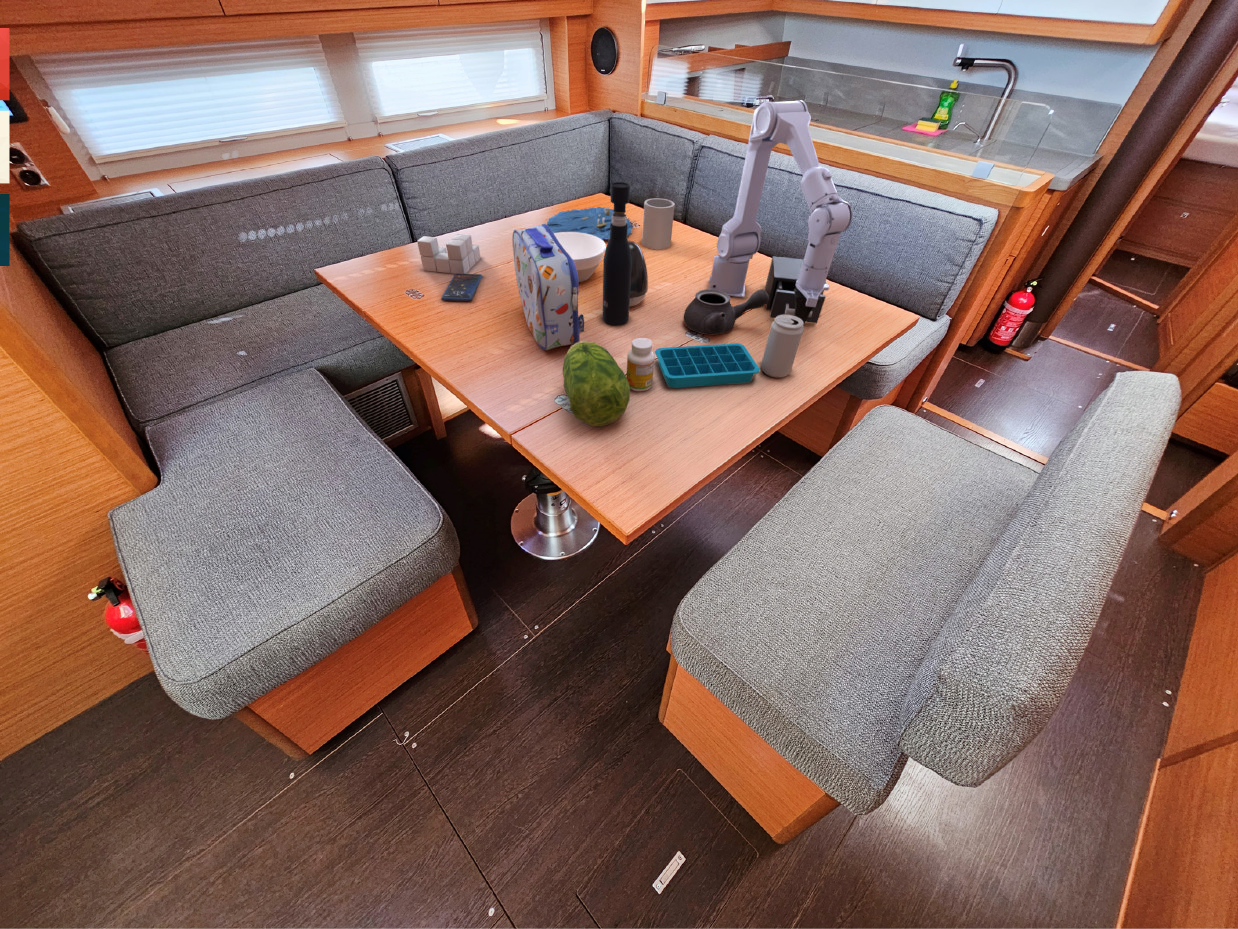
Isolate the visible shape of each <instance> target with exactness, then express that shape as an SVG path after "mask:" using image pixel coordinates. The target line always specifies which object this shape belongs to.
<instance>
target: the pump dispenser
mask: <svg viewBox="0 0 1238 929" xmlns="http://www.w3.org/2000/svg"><path fill="white" fill-rule="evenodd" d="M628 243H629V246H630V251H631V258H632V268H631V286H630V304H629V307H633V306H634V307H635V306H637V305H639V304H640V303H641V302H642V301H643V300H644V299H645V297H646V294H647V293H648V290H649V277H648V276H649V275H648V267H647V263H646V259H645V255H644V253H643V251H642V249H641V246H640V245H639V244H638V243H636V242H635V241H632V240H628Z"/></svg>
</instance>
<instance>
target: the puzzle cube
mask: <svg viewBox="0 0 1238 929" xmlns="http://www.w3.org/2000/svg"><path fill="white" fill-rule="evenodd" d="M416 243H417V247H418V251H419V256H420V260H421V265H422V268H423V271H426V272H434V273H435V272H438V273H444V274H452V275H454V274H468V272H469V271H470V270H471V269H472V268H473V267H474V266H475V265H476V264H477V263H478V262H479V261H480V260H481V258H482V257H481V251H480V245H479V244H473V238H472V235H471V234H464V233H463V234H462V233H457V234H456V235H455V236H454V237H453V238H451V239H450V240H449V241H448V242H447V243H446V244H445V246H439V243H438V237H436V236H435V237H434V236H426V235H423V236H421V237H420V238H419V239H418V240H417V241H416Z"/></svg>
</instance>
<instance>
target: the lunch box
mask: <svg viewBox="0 0 1238 929" xmlns="http://www.w3.org/2000/svg"><path fill="white" fill-rule="evenodd" d="M512 253H513V265H514V266H513V267H514V273H515V279H516V280H515V281H516V284H517V290H518V294H519V298H520V302H521V306H522V310H523V313H524V317H525V322H526V325H527V327H528V329H529V331H530V333H531V334H532V336H533V338H534V340H535V341H536V344H537V345H538V347H539V348H540V349H541V350H543V351H549V350H552V349H555V348H558V347H564V346H569V345H571V346H573V345H574V344H575V343H577V342H580V334H581V333H584V332H585V317H584V314H583V313H582V314H580V315H579V292H580V291H579V284H580V282H578V272H577V269H576V266H575V263H574V261H573V259H572V258H571V257H570V255H569V254H568V253H567V252H566V251H565V249H564V248H563V247H562V245H561V244H560V243H559V241H558V239H557V238H556V236H555V235H554V233H553V232H552V230H551V229H550V228H549V226H548V225H547V223H543V224H541V225H540V224H539V225H536V226H535V225H534V226H530V227H522V228H521V227H520V228H514V229H513V232H512Z"/></svg>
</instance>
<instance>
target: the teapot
mask: <svg viewBox="0 0 1238 929" xmlns="http://www.w3.org/2000/svg"><path fill="white" fill-rule="evenodd" d="M731 300H732V298H731V296H729V295H728V294H727V293H725V292H723V291H719V290H715V289H709V288H706V289H701V290H699V291H697V292H696V293H695V297H694V298H693V299H692V300H691V301H690V303H689V304H688V305H687V306H686V308H685V310H684V313H683V322H684V325H685V326H686V327H687V328H688V329H690V330H691V331H694V332H696V333H698V334H704V335H708V336H709V335H710V336H712V335H713V336H715V335H722V334H723V335H724V334H727V333H728V332H731V331H732V330H733V329H734V327H735V324H736V321H737V320H738V319H739V318H740V317H742V316H743V315H744V314H745V313H746V312H747V311H750V310H756V309H761V308H762V307H764V306H766V304H767V303H768V301H769V295H768V294H767V292H766V291H765V289H763V288H762V289H757V290H755V291H754V292H753V293H752V294H751V295H750V296H749V297H748V299H747V300H746V301H744V302H743V303H741V304H736V305H734V306H733V305H732V304H731Z"/></svg>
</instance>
